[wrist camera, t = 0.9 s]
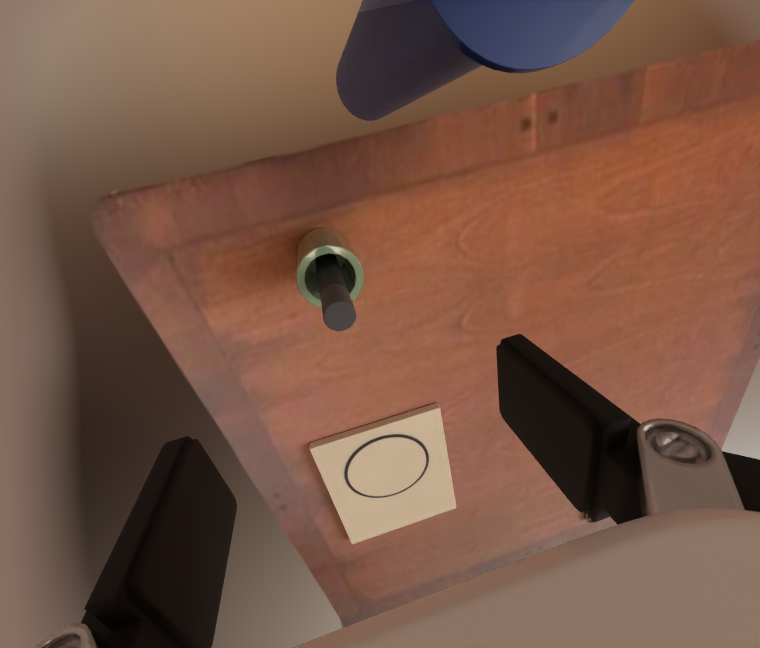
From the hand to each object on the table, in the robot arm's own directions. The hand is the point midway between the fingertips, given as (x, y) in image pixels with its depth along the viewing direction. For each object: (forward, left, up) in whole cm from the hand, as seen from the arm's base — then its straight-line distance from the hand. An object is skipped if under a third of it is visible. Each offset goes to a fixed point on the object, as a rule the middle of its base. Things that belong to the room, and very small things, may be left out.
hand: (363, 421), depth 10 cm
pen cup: (0, 0, -22) cm, 22 cm away
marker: (0, 0, -22) cm, 22 cm away
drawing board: (+31, 0, -22) cm, 39 cm away
